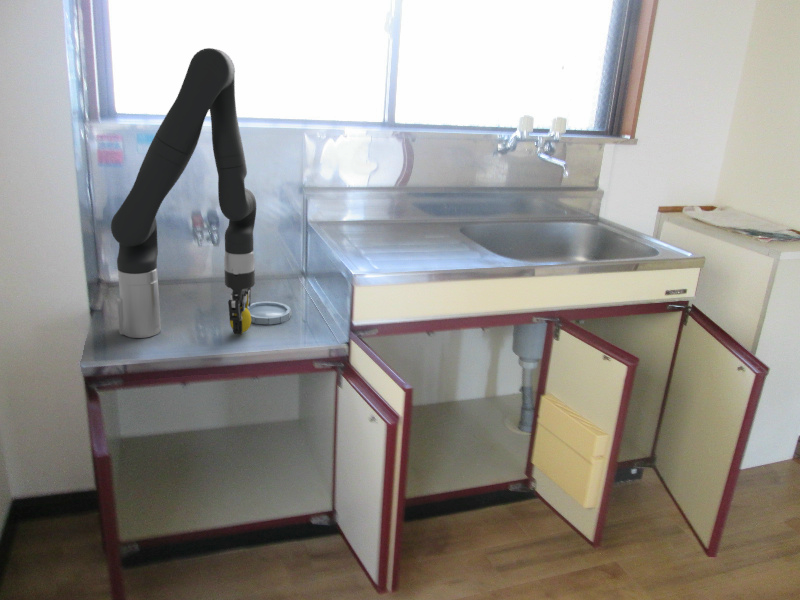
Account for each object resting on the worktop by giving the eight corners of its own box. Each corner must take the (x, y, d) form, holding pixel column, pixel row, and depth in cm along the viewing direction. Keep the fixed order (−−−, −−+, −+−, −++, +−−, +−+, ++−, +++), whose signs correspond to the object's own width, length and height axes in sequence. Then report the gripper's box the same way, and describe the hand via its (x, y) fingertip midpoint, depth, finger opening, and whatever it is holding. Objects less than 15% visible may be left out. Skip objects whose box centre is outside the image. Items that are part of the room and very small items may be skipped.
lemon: (225, 334, 175) (224, 306, 172) (239, 328, 180) (239, 300, 177) (241, 339, 173) (241, 310, 170) (255, 333, 177) (255, 304, 174)
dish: (238, 322, 183) (238, 316, 182) (249, 305, 195) (249, 300, 195) (285, 325, 183) (285, 319, 182) (293, 309, 195) (294, 303, 195)
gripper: (232, 258, 176) (233, 317, 182) (216, 275, 163) (218, 338, 169) (260, 260, 176) (260, 319, 182) (247, 277, 163) (248, 340, 169)
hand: (240, 328), depth 176 cm, fingers closed on lemon, 5 cm apart
